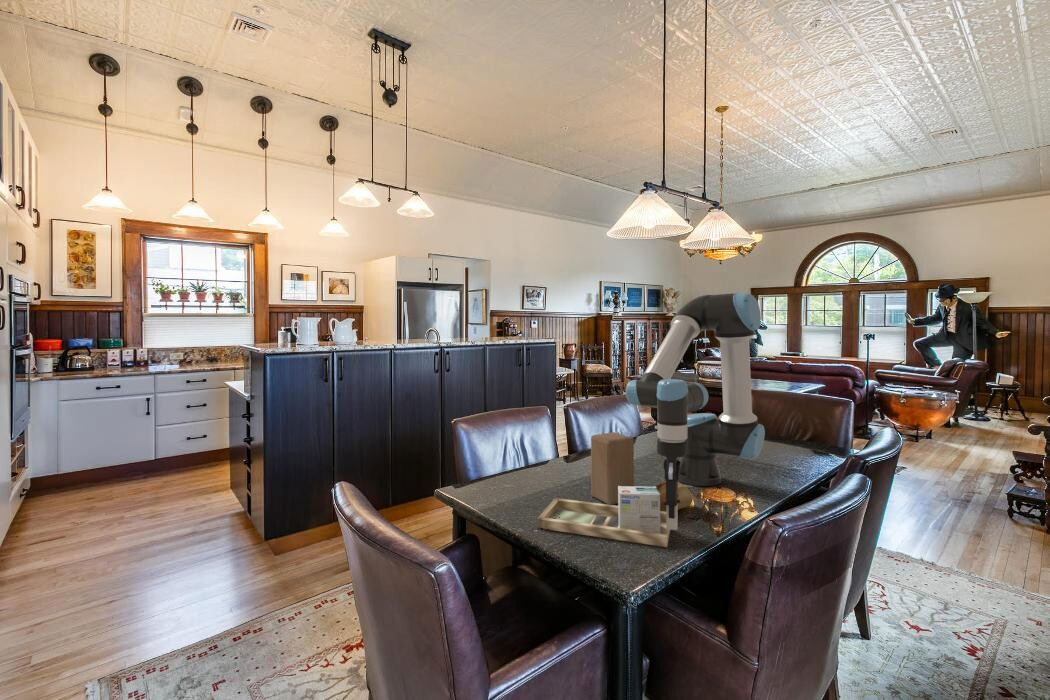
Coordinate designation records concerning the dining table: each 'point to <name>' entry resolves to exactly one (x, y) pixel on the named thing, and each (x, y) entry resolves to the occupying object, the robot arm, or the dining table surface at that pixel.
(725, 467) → the dining table surface
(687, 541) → the dining table surface
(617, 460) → the block
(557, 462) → the dining table surface
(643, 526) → the light bulb box
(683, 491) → the bread roll
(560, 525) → the birch trough
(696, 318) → the robot arm
